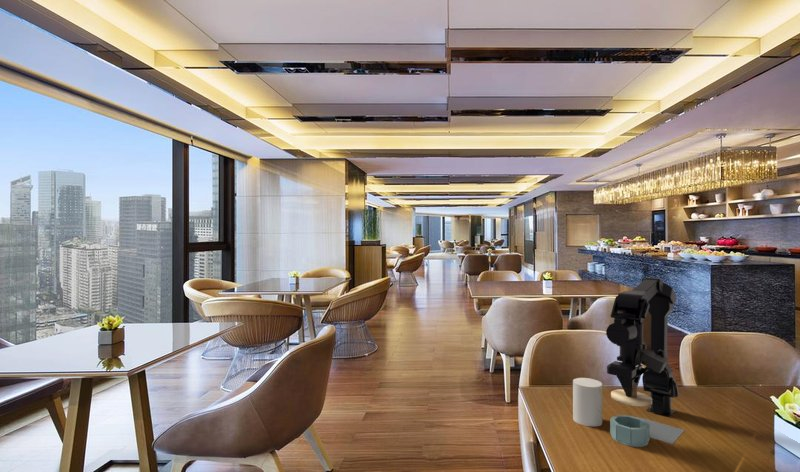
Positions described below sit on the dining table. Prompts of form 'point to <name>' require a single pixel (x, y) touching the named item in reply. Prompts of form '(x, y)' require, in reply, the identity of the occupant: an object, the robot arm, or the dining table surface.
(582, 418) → the white cylinder
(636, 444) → the grooved blue cylinder
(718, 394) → the dining table surface
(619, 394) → the lid
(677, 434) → the mat
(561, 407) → the dining table surface
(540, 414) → the dining table surface
